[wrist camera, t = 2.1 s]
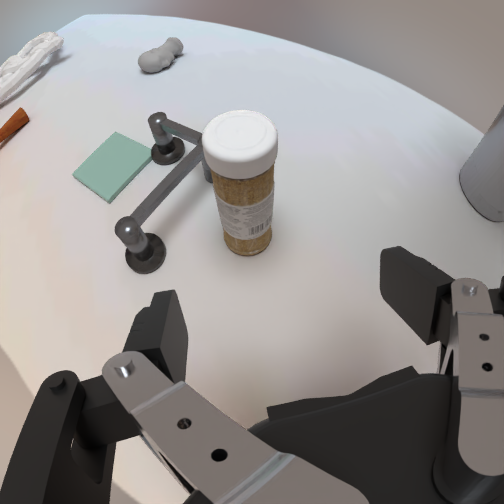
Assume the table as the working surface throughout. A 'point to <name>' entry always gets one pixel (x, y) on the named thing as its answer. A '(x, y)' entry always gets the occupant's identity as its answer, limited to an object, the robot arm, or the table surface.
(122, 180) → the pad
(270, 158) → the sprinkles bottle
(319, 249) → the table surface
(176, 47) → the grey figurine
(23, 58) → the pretzel
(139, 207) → the grey jointed rod frame
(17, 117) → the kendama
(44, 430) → the robot arm
